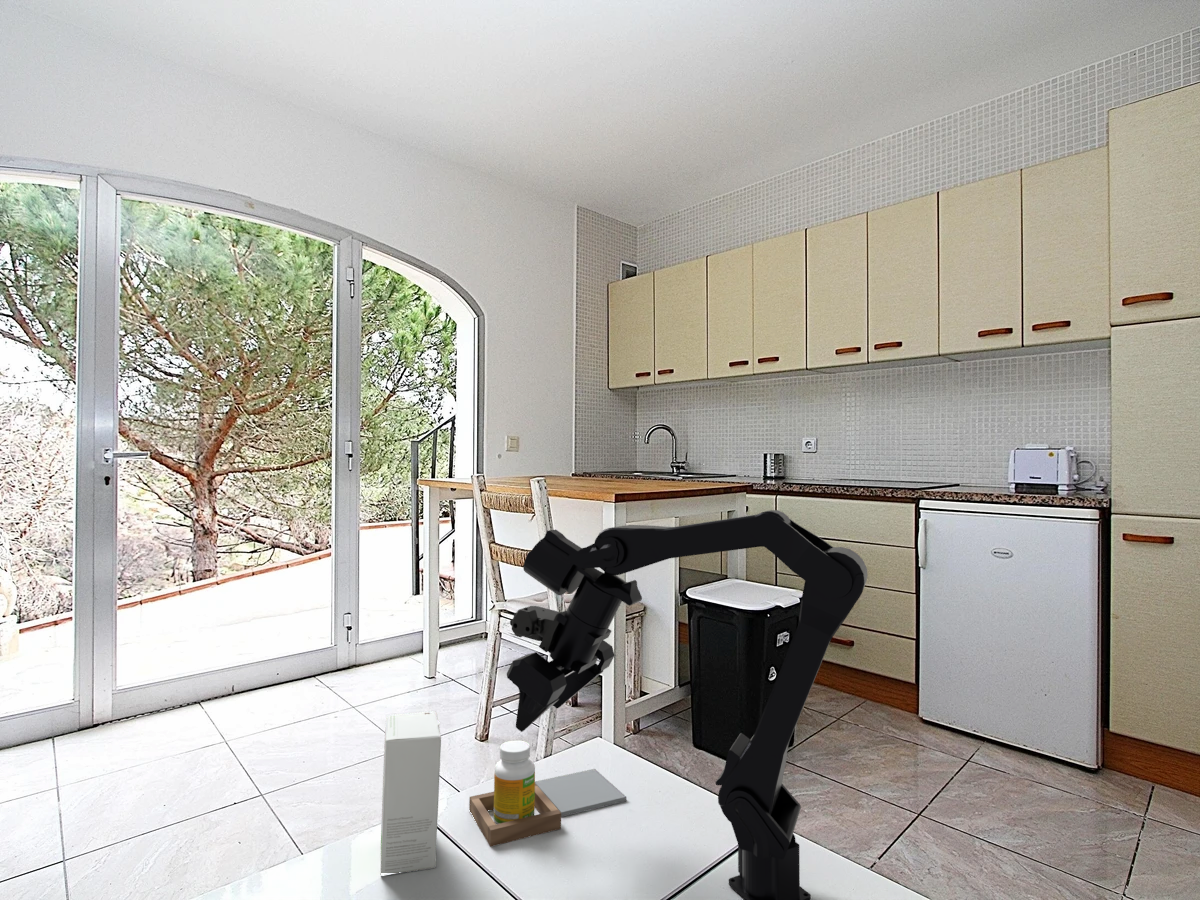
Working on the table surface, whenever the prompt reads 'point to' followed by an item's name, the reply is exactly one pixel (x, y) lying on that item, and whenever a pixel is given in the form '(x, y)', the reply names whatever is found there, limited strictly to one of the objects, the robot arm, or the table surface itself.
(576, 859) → the table surface
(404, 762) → the skincare box
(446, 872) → the table surface
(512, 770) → the supplement bottle
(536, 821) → the walnut collar
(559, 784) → the slate pad
